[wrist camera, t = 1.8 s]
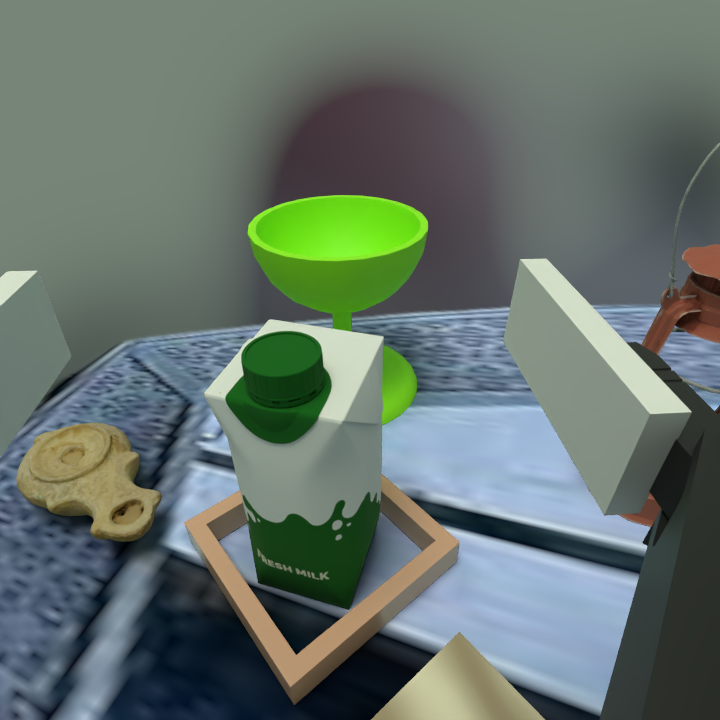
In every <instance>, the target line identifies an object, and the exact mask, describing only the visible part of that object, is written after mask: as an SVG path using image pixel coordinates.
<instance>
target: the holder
mask: <svg viewBox="0 0 720 720" xmlns="http://www.w3.org/2000/svg"><path fill="white" fill-rule="evenodd" d="M380 511H381V512H383V513H384V514H385V515H386V516H387V517H388V518H389V519H390V520H391V521H392V522H393V523H394V524H395V525H396V526H397V527H398V528H399V529H400V530H401V531H403V532H404V533H405V534H406V535H407V536H408V537H409V538H410V539H411V540H412V541H413V542H414V543H415V544H416V545H417V546H418V547H419V548H420V549H421V550H423V551H422V552H421V553H420V554H419V555H417V556H416V557H415V558H414V559H413V560H411V561H410V562H409V563H408V564H407V565H405V566H404V567H403V568H402V569H400V570H399V571H398V572H397V573H396V574H394V575H393V576H392V577H391V578H390V579H388V580H387V581H386V582H385V583H383V584H382V585H381V586H380V587H379V588H377V589H376V590H375V591H374V592H373V593H371V594H370V595H369V596H368V597H366V598H365V599H364V600H363V601H362V602H360V603H359V604H358V605H357V606H356V607H354V608H353V609H352V610H351V611H349V612H348V613H347V614H346V615H345V616H343V617H342V618H341V619H340V620H339V621H337V622H336V623H335V624H334V625H332V626H331V627H330V628H329V629H328V630H326V631H325V632H324V633H323V634H321V635H320V636H319V637H318V638H317V639H315V640H314V641H313V642H312V643H311V644H309V645H308V646H307V647H306V648H304V649H303V650H302V651H301V652H300V653H298V654H297V655H296V654H295V653H294V652H293V650H292V649H291V647H290V646H289V644H288V643H287V641H286V640H285V638H284V637H283V635H282V634H281V633H280V631H279V630H278V628H277V627H276V625H275V624H274V622H273V621H272V619H271V618H270V617H269V615H268V614H267V612H266V611H265V609H264V608H263V606H262V605H261V603H260V602H259V600H258V599H257V598H256V596H255V595H254V593H253V592H252V590H251V589H250V587H249V586H248V584H247V583H246V581H245V580H244V579H243V577H242V576H241V574H240V573H239V571H238V570H237V568H236V567H235V565H234V564H233V563H232V561H231V560H230V558H229V557H228V555H227V554H226V552H225V551H224V549H223V548H222V546H221V545H220V544H219V542H218V540H220V539H222V538H223V537H225V536H226V535H228V534H230V533H231V532H233V531H234V530H236V529H238V528H239V527H241V526H243V525H244V524H246V523H247V518H246V514H245V510H244V505H243V501H242V497H241V493H240V491H238V492H236V493H234V494H233V495H231V496H229V497H228V498H226V499H224V500H222V501H221V502H219V503H217V504H215V505H214V506H212V507H210V508H209V509H207V510H205V511H203V512H202V513H200V514H198V515H196V516H195V517H193V518H191V519H190V520H188V521H186V522H184V523H185V526H186V529H187V532H188V535H189V538H190V540H191V543H192V545H193V546H194V548H195V549H196V551H197V552H198V554H199V556H200V557H201V559H202V560H203V562H204V563H205V565H206V567H207V568H208V570H209V571H210V573H211V575H212V576H213V578H214V579H215V581H216V582H217V584H218V586H219V587H220V589H221V590H222V592H223V593H224V595H225V597H226V598H227V600H228V601H229V603H230V605H231V606H232V608H233V609H234V611H235V612H236V614H237V616H238V617H239V619H240V620H241V622H242V623H243V625H244V627H245V628H246V630H247V631H248V633H249V635H250V636H251V638H252V639H253V641H254V642H255V644H256V646H257V647H258V649H259V650H260V652H261V653H262V655H263V657H264V658H265V660H266V661H267V663H268V665H269V666H270V668H271V669H272V671H273V672H274V674H275V676H276V677H277V679H278V680H279V682H280V683H281V685H282V687H283V688H284V690H285V691H286V693H287V695H288V696H289V698H290V699H291V701H292V702H293V704H294V705H295V704H296V703H297V702H299V701H300V700H301V699H302V698H303V697H304V696H305V695H306V694H308V693H309V692H310V691H311V690H312V689H313V688H314V687H316V686H317V685H318V684H319V683H320V682H321V681H322V680H323V679H325V678H326V677H327V676H328V675H329V674H330V673H331V672H333V671H334V670H335V669H336V668H337V667H338V666H339V665H340V664H342V663H343V662H344V661H345V660H346V659H347V658H348V657H349V656H351V655H352V654H353V653H354V652H355V651H356V650H357V649H359V648H360V647H361V646H362V645H363V644H364V643H365V642H366V641H368V640H369V639H370V638H371V637H372V636H373V635H374V634H376V633H377V632H378V631H379V630H380V629H381V628H382V627H383V626H385V625H386V624H387V623H388V622H389V621H390V620H391V619H393V618H394V617H395V616H396V615H397V614H398V613H399V612H400V611H402V610H403V609H404V608H405V607H406V606H407V605H408V604H410V603H411V602H412V601H413V600H414V599H415V598H416V597H417V596H419V595H420V594H421V593H422V592H423V591H424V590H425V589H427V588H428V587H429V586H430V585H431V584H432V583H433V582H434V581H436V580H437V579H438V578H439V577H440V576H441V575H442V574H444V573H445V572H446V571H447V570H448V569H449V568H450V567H451V566H453V565H454V564H455V563H456V561H457V555H458V549H459V543H460V542H459V541H458V540H457V539H455V538H454V537H453V536H452V535H451V534H450V533H449V532H447V531H446V530H445V529H444V528H443V527H442V526H441V525H439V524H438V523H437V522H436V521H435V520H434V519H433V518H431V517H430V516H429V515H428V514H427V513H426V512H425V511H424V510H422V509H421V508H420V507H419V506H418V505H417V504H416V503H414V502H413V501H412V500H411V499H410V498H409V497H408V496H406V495H405V494H404V493H403V492H402V491H401V490H400V489H398V488H397V487H396V486H395V485H394V484H393V483H392V482H390V481H389V480H388V479H387V478H386V477H385V476H384V475H382V474H381V505H380Z"/></svg>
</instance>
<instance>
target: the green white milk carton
mask: <svg viewBox="0 0 720 720" xmlns="http://www.w3.org/2000/svg"><path fill="white" fill-rule="evenodd" d="M383 343H384V337H383V336H376V335H370V334H363V333H357V332H350V331H344V330H337V329H331V328H324V327H317V326H311V325H304V324H298V323H291V322H285V321H278V320H271V319H270V320H268V322H267V323H266V324H265V325H264V326H263V327H262V328H261V330H260V331H259V332H258V333H257V334H256V335H255V336H254V338H253V339H249V340H248V341H247V342H246V343H245V344H244V345H243V346H242V348H241V349H240V351H239V353H238V354H237V355H236V356H235V357H234V358H233V360H232V361H231V362H230V363H229V364H228V365H227V367H226V368H225V369H224V370H223V371H222V372H221V374H220V375H219V376H218V377H217V378H216V380H215V381H214V382H213V383H212V384H211V385H210V387H209V388H208V389H207V390H206V392H205V393H204V394H205V395H204V397H205V398H206V400H207V402H208V404H209V406H210V408H211V409H212V411H213V413H214V415H215V417H216V418H217V420H218V422H219V424H220V426H221V427H222V429H223V431H224V433H225V435H226V437H227V438H228V442H229V446H230V450H231V454H232V459H233V463H234V467H235V471H236V476H237V480H238V484H239V488H240V493H241V497H242V501H243V505H244V510H245V514H246V518H247V523H248V527H249V533H250V539H251V545H252V550H253V556H254V562H255V567H256V573H257V579H258V583H261V584H265V585H268V586H272V587H275V588H278V589H282V590H285V591H289V592H292V593H295V594H299V595H302V596H305V597H309V598H312V599H316V600H319V601H322V602H326V603H329V604H332V605H336V606H339V607H343V608H346V609H349V608H350V605H351V602H352V599H353V596H354V593H355V590H356V587H357V584H358V581H359V578H360V575H361V571H362V568H363V565H364V562H365V559H366V556H367V553H368V550H369V547H370V544H371V541H372V537H373V534H374V531H375V528H376V525H377V521H378V518H379V513H380V505H381V469H382V412H383V399H382V372H383Z"/></svg>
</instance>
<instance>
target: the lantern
mask: <svg viewBox="0 0 720 720" xmlns="http://www.w3.org/2000/svg"><path fill="white" fill-rule="evenodd" d="M719 146H720V143H719V144H717V146H716V147H715V148H714V149H713V150H712V151H711V153H710V154H709V155H708V156H707V158H706V159H705V160H704V162H703V163H702V165H701V166H700V167H699V169H698V171H697V172H696V174H695V175H694V177H693V179H692V180H691V182H690V184H689V186H688V188H687V190H686V192H685V194H684V197H683V199H682V202H681V204H680V207H679V211H678V215H677V219H676V225H675V232H674V243H673V256H672V270H671V271H670V273H669V276H670V278H671V282H670V284H669V287H668V289H667V290H665V291H664V292H663V294H662V295H661V306H662V307H661V308H660V310H659V312H658V314H657V316H656V318H655V319H654V321H653V323H652V325H651V327H650V329H649V331H648V333H647V335H646V337H645V338H644V340H643V342H642V344H641V345H642V346H644V347H645V348H647V349H649V350H651V351H652V352H654V353H656V354H657V355H659V353H660V351H661V349H662V348H663V346H664V344H665V342H666V340H667V339H668V337H669V335H670V333H671V332H687V333H689V334H691V335H694V336H697V337H699V338H702V339H705V340H708V341H711V342H715V343H720V244H718V245H710V246H707V247H690V248H689V249H687V250H686V251H685V252H684V254H683V257H682V258H683V260H684V261H686V262H687V264H688V265H689V267H690V268H691V269H692V270H693V272H692V273H691V274H690V275H689V276H688V278H687V281H686V283H685V285H684V286H683V287H682V289H681V291H680V292H679V291H678V289H677V288H676V287H673V283H674V282H675V281H677V280H676V279H675V278H674V268H675V251H676V239H677V230H678V223H679V217H680V214H681V210H682V206H683V204H684V201H685V198H686V196H687V194H688V192H689V190H690V188H691V186H692V184H693V182H694V180H695V179H696V177H697V175H698V174H699V172H700V171H701V168H702V167H703V166H704V165H705V163H706V162H707V161H708V159H709V158H710V156H711V155H712V154H713V153H714V152H715V151H716V149H717V148H718V147H719ZM667 295H668V296H669V298H667ZM674 326H677V327H678V328H674ZM678 376H679V375H678ZM679 377H680V378H681V379H682V382H685V383H687V384H688V385H691V386H694V387H697V388H699V389H702V390H705V391H708V392H712V393H717V394H720V390H717V389H712V388H709V387H706V386H703V385H700V384H698V383H695V382H692V381H689V380H687V379H685V378H683V377H681V376H679ZM715 412H716V413H717V414H718V415H719V416H720V405H719V407H718V408H717V409H716V410H715ZM588 489H589V488H588ZM589 491H590V490H589ZM660 510H661V507H660V506H659V505H658V503H657V502H656V500H655V499H654V497H653V496H652V495H651V493H650V494H649V496H648V498H647V500H646V502H645V504H644V506H643V508H642V510H641V512H640V513H635V514H618V515H620V516H622V517H624V518H625V519H627V520H629V521H631V522H635V523H639V524H642V525H646V526H649V527H651V526H652V525H653V523H654V521H655V519H656V517H657V515H658V514H659V512H660Z"/></svg>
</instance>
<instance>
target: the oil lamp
mask: <svg viewBox="0 0 720 720" xmlns="http://www.w3.org/2000/svg"><path fill="white" fill-rule="evenodd" d="M139 462H140V457H139V454H137V453H136V452H132V449H131V444H130V441H129V439H128V438H127V436H126V435H125V434H124V433H123V432H122V431H120V430H119V429H118V428H117V427H115V426H109V425H107V424H102V423H86V424H78V425H73V426H69V427H65V428H61V429H58V430H56V431H51V432H45V433H43V434H41V435H39V436H37V437H36V438H35V440H34V445H33V446H32V447H31V448H30V450H29V451H28V452H27V453H26V455H25V456H24V458H23V460H22V462H21V464H20V466H19V469H18V472H17V486H18V488H19V491H20V492H21V494H22V495H23V496H24V497H25V498H26V499H27V500H28V501H30V502H31V503H33V504H35V505H37V506H39V507H42V508H47V509H48V510H49V511H50V512H52V513H54V514H57V515H63V516H82V515H89V516H91V517H93V519H94V522H93V524H92V526H91V530H90V533H91V534H92V535H93V537H95V538H97V539H101V540H106V539H111V540H115V541H123V542H124V541H133V540H137V539H140V538H141V537H143V536H144V535H145V534H146V533H147V532H148V531H149V530H150V528H151V526H152V523H153V520H154V515H155V509H156V508H157V507H158V505H159V503H160V501H161V498H162V496H161V494H160V493H159V492H158V491H155V490H149V489H143V488H140V487H138V486H136V485H135V484H134V478H135V476H136V474H137V472H138V469H139Z"/></svg>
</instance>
